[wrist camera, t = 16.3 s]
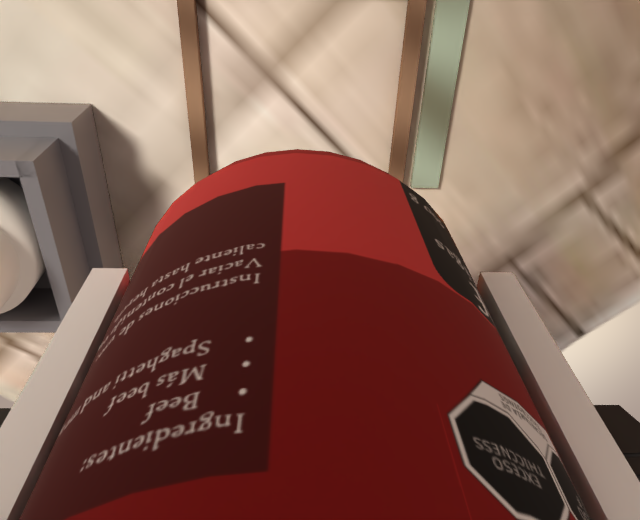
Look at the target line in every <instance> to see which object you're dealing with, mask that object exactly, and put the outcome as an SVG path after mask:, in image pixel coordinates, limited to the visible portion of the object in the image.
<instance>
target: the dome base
mask: <svg viewBox="0 0 640 520" xmlns="http://www.w3.org/2000/svg"><path fill="white" fill-rule="evenodd" d="M0 177H6V178H8V179H10V180H11V181H13V182H14V183H16V184H17V185H19V186H20V187H21V188H22V189H23V191H24V195H25V198H26V202H27V205H28V209H29V212H30V215H31V219H32V222H33V226H34V229H35V233H36V236H37V240H38V243H39V247H40V250H41V253H42V257H43V260H44V264H45V267H46V270H45V272H44V273H43V275H42V276H41V277H40V279H39V280H38V282H37V283H36V285H35V286H34V287H33V289H32V290H31V292H30V293H29V294H28V296H27V297H26V298H25V299H24V301H22V302H21V303H20V304H19V305H18V306H16V307H15V308H13V309H11V310H9V311H7V312H5V313H1V314H0V332H56V331H57V329H58V327H59V325H60V324H61V322H62V320H63V319H64V317H65V315H66V313H67V312H68V310H69V308H70V306H71V305H72V303H73V301H74V300H75V298H76V296H77V294H78V293H79V291H80V289H81V287H82V286H83V284H84V282H85V281H86V279H87V277H88V275H89V274H90V272H91V270H92V268H123V264H122V259H121V254H120V248H119V243H118V238H117V233H116V228H115V223H114V218H113V213H112V208H111V202H110V197H109V192H108V187H107V182H106V177H105V172H104V167H103V162H102V156H101V151H100V146H99V141H98V136H97V131H96V126H95V121H94V116H93V110H92V105H91V104H67V103H27V102H0Z"/></svg>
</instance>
